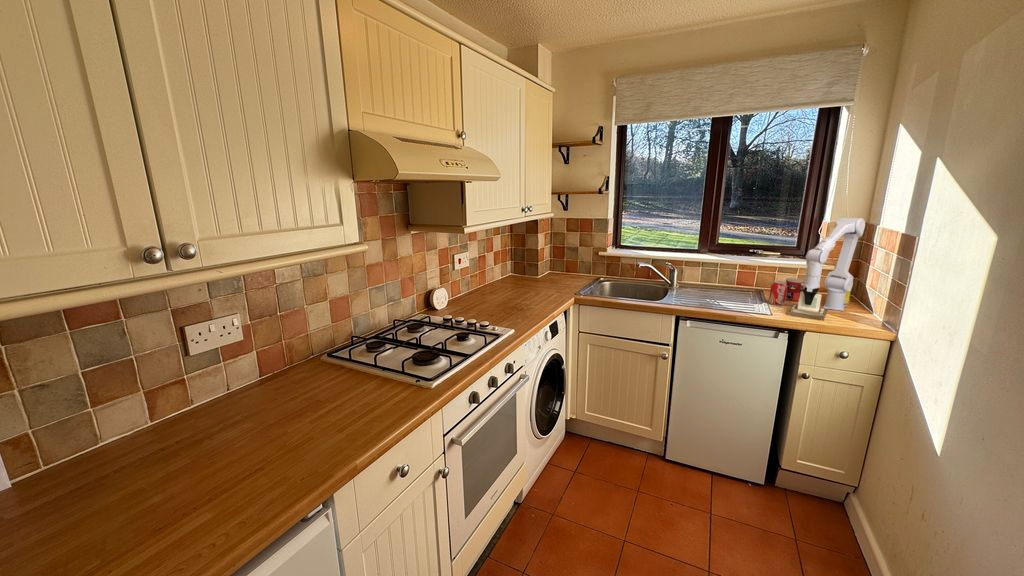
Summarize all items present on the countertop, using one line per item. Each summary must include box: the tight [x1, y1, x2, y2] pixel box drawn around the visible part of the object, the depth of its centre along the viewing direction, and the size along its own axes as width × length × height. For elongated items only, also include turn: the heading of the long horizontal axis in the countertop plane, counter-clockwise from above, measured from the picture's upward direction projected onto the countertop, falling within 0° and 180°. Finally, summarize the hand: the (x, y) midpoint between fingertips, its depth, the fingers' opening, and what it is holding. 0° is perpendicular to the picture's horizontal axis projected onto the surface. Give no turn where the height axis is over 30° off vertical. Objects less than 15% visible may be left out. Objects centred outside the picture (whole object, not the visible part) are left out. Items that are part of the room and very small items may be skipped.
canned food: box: [785, 277, 805, 303], centre depth 218 cm, size 8×8×11 cm
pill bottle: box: [844, 289, 852, 307], centre depth 209 cm, size 6×6×12 cm
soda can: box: [768, 280, 788, 307], centre depth 210 cm, size 7×7×12 cm
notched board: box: [786, 303, 829, 322], centre depth 197 cm, size 20×14×2 cm
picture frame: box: [797, 292, 822, 312], centre depth 195 cm, size 5×8×8 cm, turn 49°
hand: (808, 303), depth 195 cm, fingers closed on picture frame, 3 cm apart
